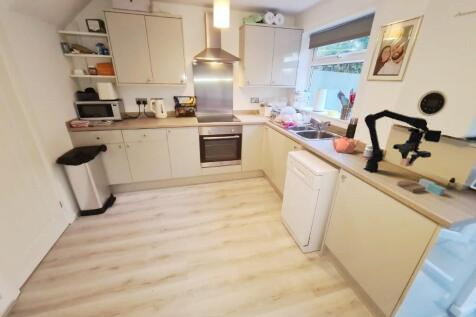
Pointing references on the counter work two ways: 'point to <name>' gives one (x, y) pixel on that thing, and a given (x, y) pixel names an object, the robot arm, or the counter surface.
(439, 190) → the teal brick
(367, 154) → the pill bottle
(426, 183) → the grey brick
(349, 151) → the pot
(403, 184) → the walnut slab
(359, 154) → the counter surface
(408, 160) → the terracotta brick
